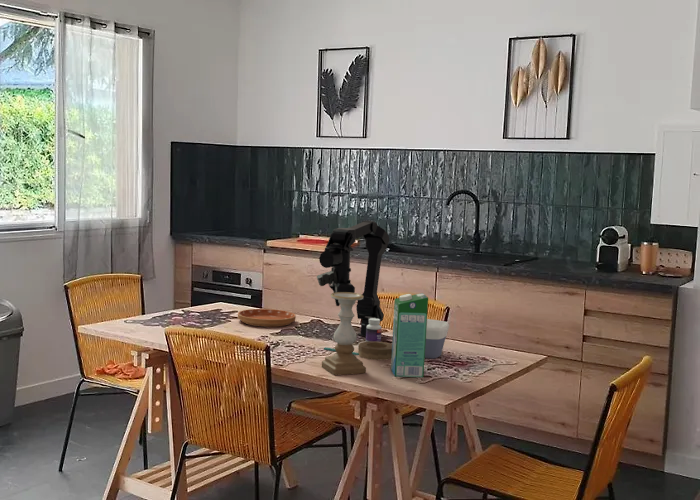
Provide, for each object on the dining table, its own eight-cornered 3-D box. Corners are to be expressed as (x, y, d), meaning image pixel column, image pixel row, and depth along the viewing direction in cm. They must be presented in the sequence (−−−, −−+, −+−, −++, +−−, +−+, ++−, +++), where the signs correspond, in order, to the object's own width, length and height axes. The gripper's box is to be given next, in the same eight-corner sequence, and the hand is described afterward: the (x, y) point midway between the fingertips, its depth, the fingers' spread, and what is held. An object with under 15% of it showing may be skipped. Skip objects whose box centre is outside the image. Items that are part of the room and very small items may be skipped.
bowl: (450, 352, 284) (452, 321, 283) (441, 362, 270) (443, 329, 268) (408, 347, 289) (410, 316, 288) (396, 356, 275) (398, 324, 273)
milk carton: (390, 369, 257) (394, 291, 254) (418, 369, 258) (423, 292, 255) (394, 376, 248) (399, 296, 245) (423, 377, 249) (428, 297, 246)
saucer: (264, 314, 337) (264, 306, 337) (307, 323, 324) (307, 314, 323) (225, 322, 319) (225, 312, 318) (269, 331, 305) (269, 321, 305)
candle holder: (333, 375, 246) (337, 298, 243) (320, 366, 256) (324, 292, 253) (366, 373, 250) (370, 297, 248) (352, 364, 260) (356, 291, 258)
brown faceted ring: (374, 349, 283) (374, 339, 282) (401, 356, 275) (401, 346, 274) (351, 354, 274) (351, 344, 273) (378, 361, 266) (379, 351, 265)
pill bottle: (379, 348, 285) (380, 321, 284) (364, 347, 286) (365, 319, 285) (381, 345, 290) (383, 318, 289) (366, 343, 291) (368, 317, 290)
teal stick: (361, 355, 274) (361, 353, 274) (360, 355, 273) (360, 353, 273) (325, 349, 280) (325, 347, 280) (324, 349, 279) (324, 347, 279)
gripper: (314, 260, 290) (313, 303, 292) (323, 268, 272) (322, 314, 274) (345, 260, 292) (343, 303, 294) (355, 268, 274) (354, 314, 276)
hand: (340, 308), depth 285 cm, fingers open, 9 cm apart
